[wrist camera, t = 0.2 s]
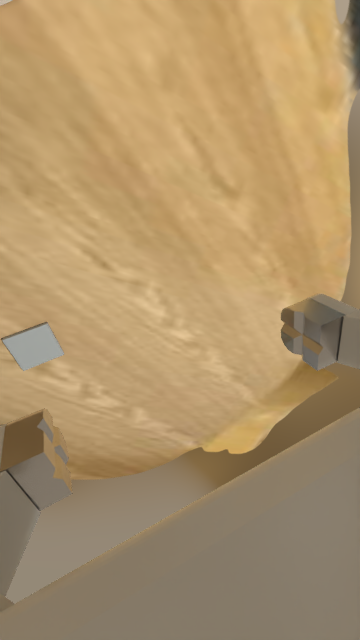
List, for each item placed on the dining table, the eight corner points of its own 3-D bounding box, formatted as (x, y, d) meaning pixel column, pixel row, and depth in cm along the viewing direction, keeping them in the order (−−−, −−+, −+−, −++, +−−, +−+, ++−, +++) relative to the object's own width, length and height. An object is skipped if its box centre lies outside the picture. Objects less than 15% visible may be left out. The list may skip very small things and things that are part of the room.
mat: (2, 338, 46) (1, 340, 46) (47, 321, 48) (47, 323, 48) (23, 368, 51) (23, 370, 50) (63, 352, 52) (64, 354, 52)
